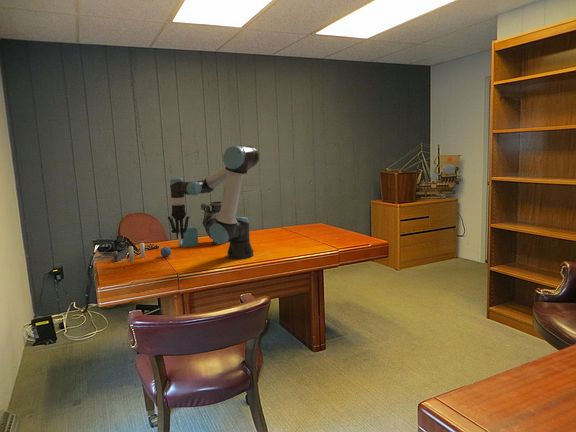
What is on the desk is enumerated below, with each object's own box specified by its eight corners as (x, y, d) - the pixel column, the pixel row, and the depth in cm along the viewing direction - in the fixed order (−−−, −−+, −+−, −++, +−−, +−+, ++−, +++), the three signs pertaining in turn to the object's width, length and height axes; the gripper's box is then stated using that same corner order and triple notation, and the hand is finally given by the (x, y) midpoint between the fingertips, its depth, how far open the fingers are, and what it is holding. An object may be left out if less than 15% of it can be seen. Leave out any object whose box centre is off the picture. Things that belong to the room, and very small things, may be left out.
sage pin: (134, 260, 246) (133, 246, 244) (133, 261, 243) (131, 247, 242) (130, 260, 246) (129, 246, 245) (129, 261, 243) (127, 247, 242)
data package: (196, 244, 287) (195, 226, 285) (198, 245, 283) (197, 227, 281) (178, 246, 281) (177, 228, 279) (180, 247, 277) (179, 229, 275)
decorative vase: (233, 238, 300) (230, 199, 295) (237, 244, 282) (234, 202, 278) (202, 241, 294) (199, 201, 290) (204, 247, 276) (201, 204, 272)
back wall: (132, 253, 264) (131, 247, 263) (117, 261, 244) (117, 255, 243) (128, 253, 264) (128, 247, 263) (114, 261, 244) (113, 255, 243)
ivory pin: (145, 256, 254) (144, 242, 253) (144, 257, 252) (143, 243, 251) (142, 256, 254) (140, 242, 253) (140, 257, 252) (139, 243, 251)
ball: (172, 255, 255) (172, 245, 254) (169, 257, 249) (168, 247, 249) (163, 255, 256) (162, 245, 255) (159, 258, 250) (158, 248, 249)
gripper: (190, 203, 251) (193, 242, 255) (169, 203, 252) (171, 242, 255) (187, 205, 244) (189, 245, 247) (165, 205, 244) (167, 245, 248)
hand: (180, 244), depth 251 cm, fingers closed
